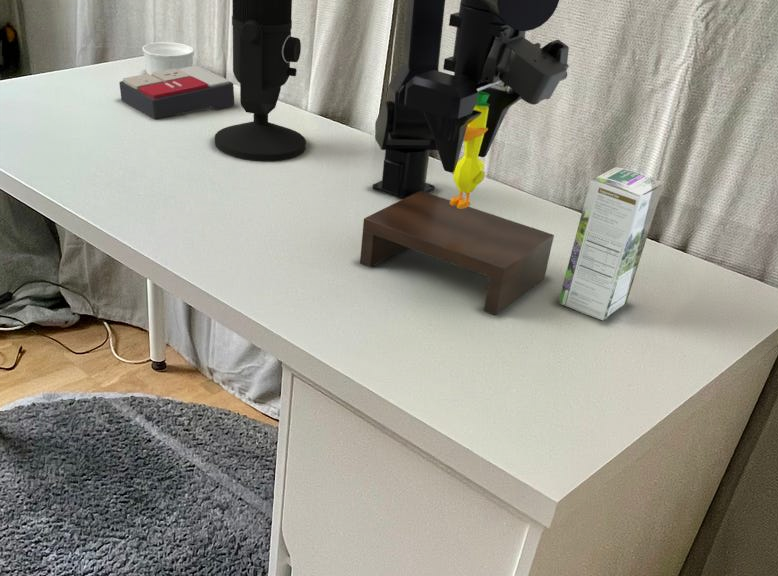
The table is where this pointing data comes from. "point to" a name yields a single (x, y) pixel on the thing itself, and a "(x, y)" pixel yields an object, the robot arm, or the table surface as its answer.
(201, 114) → the table surface
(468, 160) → the toy figure
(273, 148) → the microphone
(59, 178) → the table surface
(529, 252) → the shelf
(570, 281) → the syrup box
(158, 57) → the ramekin
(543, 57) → the robot arm
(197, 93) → the grey and red case
